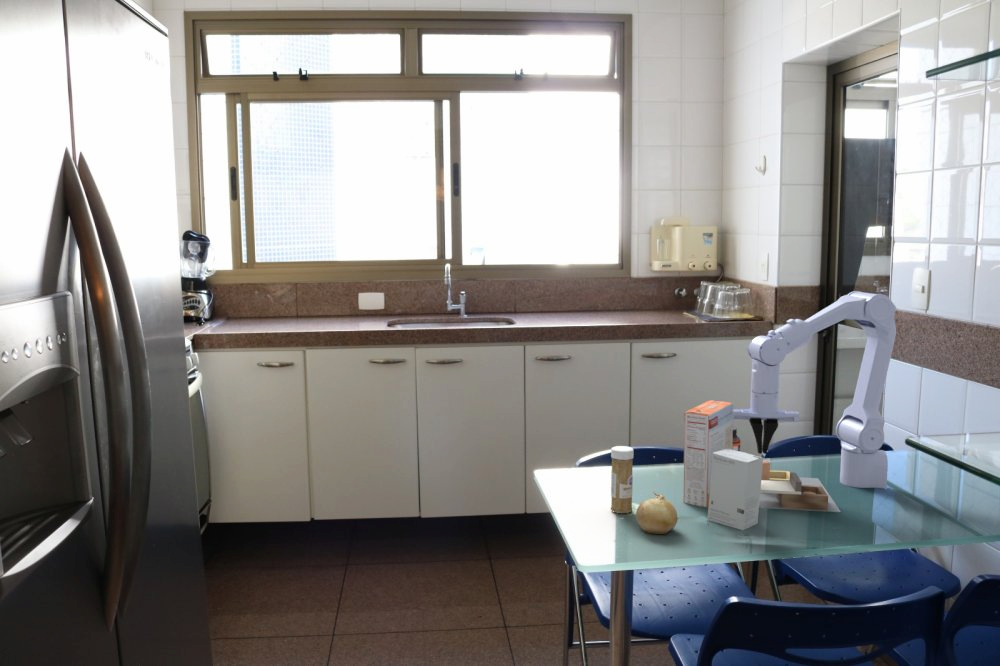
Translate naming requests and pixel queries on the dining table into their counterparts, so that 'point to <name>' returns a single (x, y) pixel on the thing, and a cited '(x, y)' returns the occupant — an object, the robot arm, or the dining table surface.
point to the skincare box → (735, 488)
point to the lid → (782, 485)
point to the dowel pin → (765, 470)
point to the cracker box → (704, 446)
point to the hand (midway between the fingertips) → (762, 452)
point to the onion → (656, 515)
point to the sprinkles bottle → (621, 479)
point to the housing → (805, 499)
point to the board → (770, 498)
